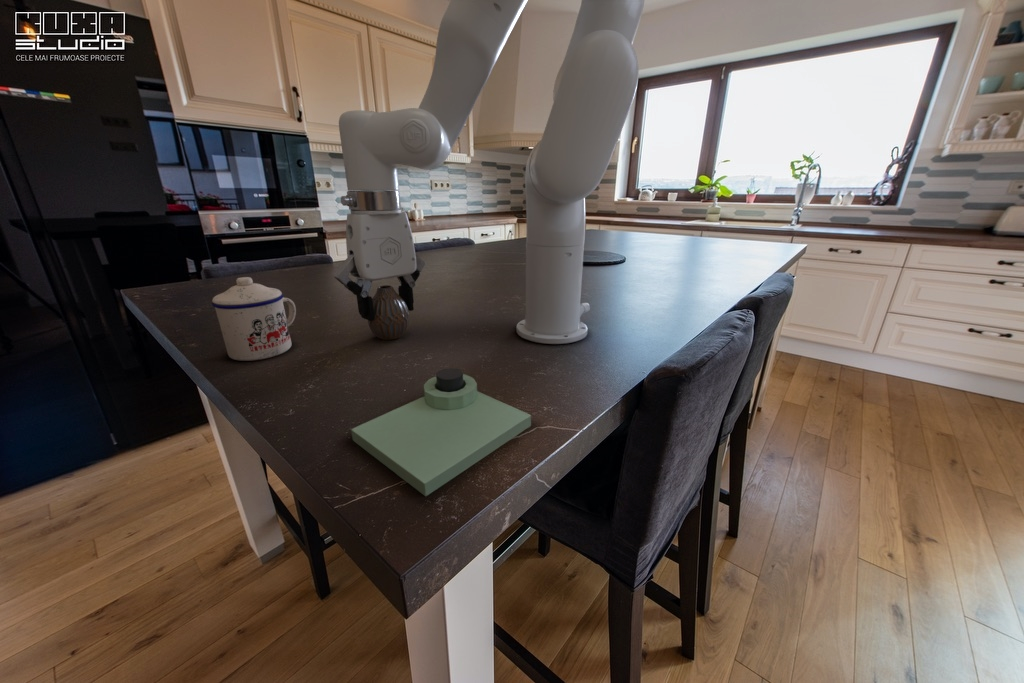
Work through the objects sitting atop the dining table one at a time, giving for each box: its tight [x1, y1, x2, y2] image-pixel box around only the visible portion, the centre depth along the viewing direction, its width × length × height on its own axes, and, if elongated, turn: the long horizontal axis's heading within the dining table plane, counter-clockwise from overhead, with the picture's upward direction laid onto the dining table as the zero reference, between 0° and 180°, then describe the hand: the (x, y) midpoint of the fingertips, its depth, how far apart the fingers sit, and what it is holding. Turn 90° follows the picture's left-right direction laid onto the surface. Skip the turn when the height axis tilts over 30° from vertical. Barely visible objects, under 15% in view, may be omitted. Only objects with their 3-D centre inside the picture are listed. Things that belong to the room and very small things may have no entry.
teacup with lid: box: [211, 276, 297, 362], centre depth 62 cm, size 12×9×12 cm
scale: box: [350, 373, 532, 497], centre depth 41 cm, size 14×12×3 cm
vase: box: [367, 284, 410, 341], centre depth 67 cm, size 7×7×9 cm
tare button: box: [435, 367, 464, 392], centre depth 45 cm, size 3×3×2 cm
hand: (388, 313), depth 67 cm, fingers closed on vase, 6 cm apart
